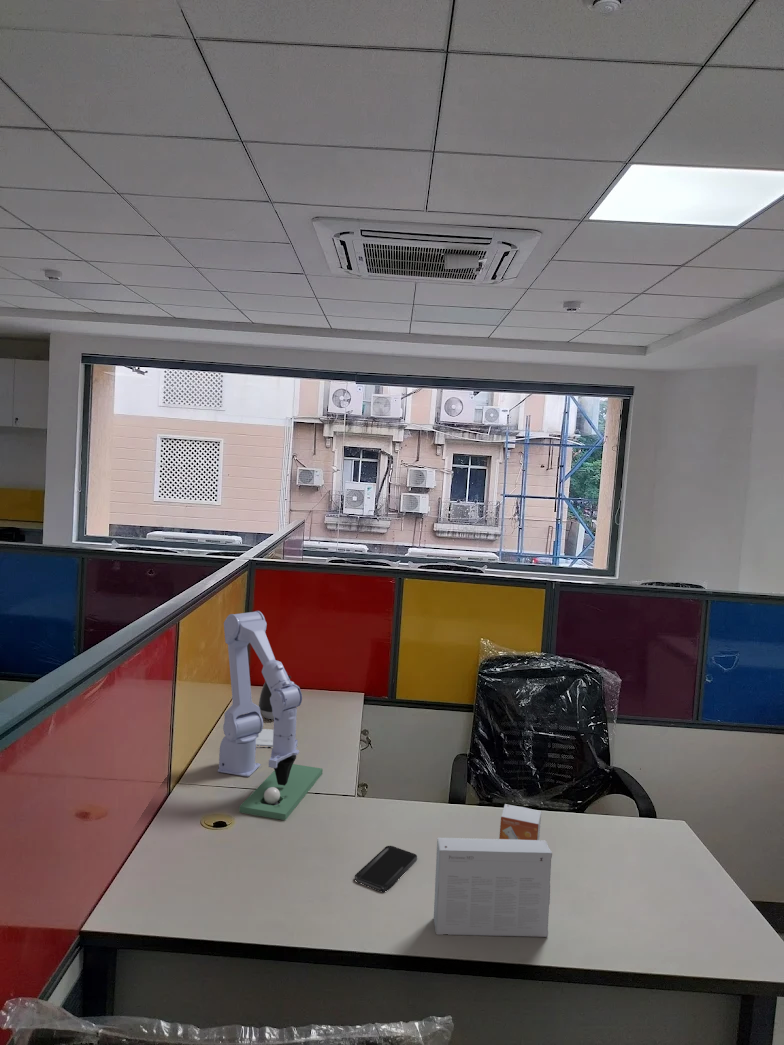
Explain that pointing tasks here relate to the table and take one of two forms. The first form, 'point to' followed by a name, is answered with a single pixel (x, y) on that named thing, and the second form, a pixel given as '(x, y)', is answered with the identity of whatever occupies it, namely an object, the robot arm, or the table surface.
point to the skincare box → (492, 887)
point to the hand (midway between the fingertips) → (282, 783)
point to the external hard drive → (265, 738)
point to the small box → (520, 823)
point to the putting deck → (282, 793)
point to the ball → (272, 795)
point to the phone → (386, 868)
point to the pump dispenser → (266, 702)
